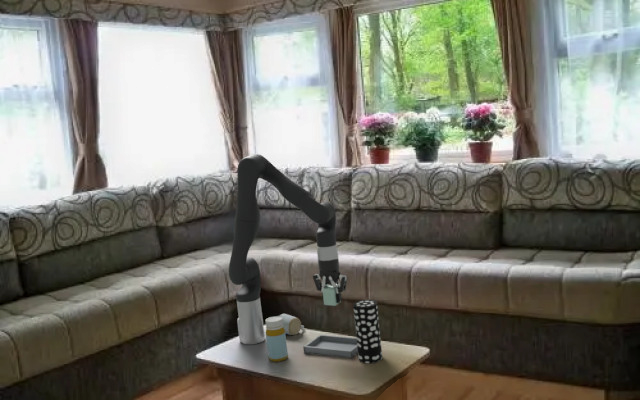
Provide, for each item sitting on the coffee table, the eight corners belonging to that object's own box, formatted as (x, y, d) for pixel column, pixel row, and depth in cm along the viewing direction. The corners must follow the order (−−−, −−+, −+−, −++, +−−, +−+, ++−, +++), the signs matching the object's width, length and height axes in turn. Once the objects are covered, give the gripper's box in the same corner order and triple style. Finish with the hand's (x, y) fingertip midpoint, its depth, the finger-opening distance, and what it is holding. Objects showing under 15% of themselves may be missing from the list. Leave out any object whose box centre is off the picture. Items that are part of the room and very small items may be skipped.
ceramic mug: (290, 338, 257) (288, 319, 256) (276, 334, 263) (274, 316, 262) (309, 330, 265) (307, 311, 264) (295, 327, 270) (293, 309, 270)
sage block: (324, 304, 240) (322, 289, 239) (330, 301, 244) (328, 285, 243) (334, 305, 238) (333, 289, 237) (341, 301, 242) (339, 286, 241)
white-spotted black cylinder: (355, 362, 226) (350, 307, 223) (362, 353, 234) (356, 299, 231) (379, 363, 223) (373, 307, 220) (384, 354, 231) (379, 299, 228)
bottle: (278, 363, 232) (273, 323, 230) (265, 360, 237) (260, 320, 235) (292, 356, 238) (287, 317, 235) (278, 353, 242) (273, 314, 240)
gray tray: (304, 353, 240) (303, 346, 240) (320, 340, 251) (319, 334, 250) (351, 358, 230) (350, 351, 230) (366, 345, 241) (365, 338, 241)
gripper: (306, 259, 239) (310, 303, 241) (340, 260, 232) (344, 306, 234) (316, 254, 245) (321, 297, 248) (349, 255, 238) (354, 300, 240)
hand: (332, 301), depth 241 cm, fingers closed on sage block, 4 cm apart
